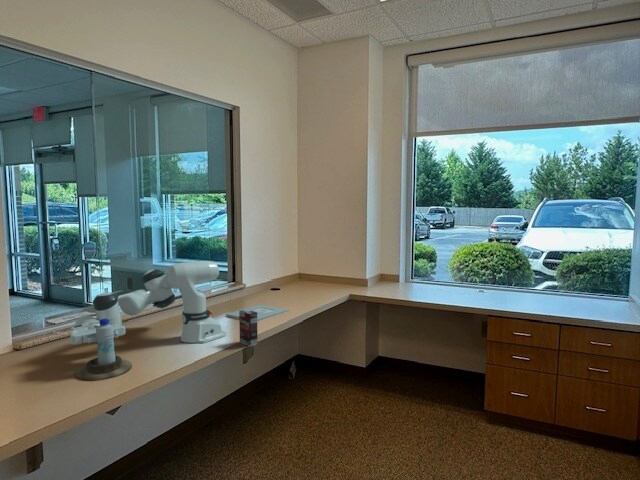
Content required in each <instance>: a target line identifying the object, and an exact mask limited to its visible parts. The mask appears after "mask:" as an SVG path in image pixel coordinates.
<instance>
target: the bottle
mask: <svg viewBox="0 0 640 480" xmlns="http://www.w3.org/2000/svg"><path fill="white" fill-rule="evenodd" d="M114 339H115V338H114V330H113V326H112V325H109V320H108V319H101V320H100V326H98V327H97V328H96V340H97V357H98V365H105V364H109V363H112V362H115V361H116V359H115V356H116V354H115V341H114Z"/></svg>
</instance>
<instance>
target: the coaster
mask: <svg viewBox="0 0 640 480" xmlns="http://www.w3.org/2000/svg"><path fill="white" fill-rule="evenodd" d="M115 359H116V361H115V362H112V363H109V364H105V365H98V356H97V357H94V358H92V359H89V360H88V361H87V363H86V365H85V364H84V365H83V366H81V367H79V368H78V369H77V370H76V372H75V377H76V379H79V380H81V381H89V382H91V381H92V382H93V381H104V380H107V379H109V380H110V379H113V378H116V377H120V376H122V375H124V374H126V373H128V372H129V371H130V370H131V369H132V367H133V363H132V362H131V361H130V360H127V359H123V358H122V357H121V356H119V355H115Z"/></svg>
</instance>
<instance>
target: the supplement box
mask: <svg viewBox="0 0 640 480" xmlns="http://www.w3.org/2000/svg"><path fill="white" fill-rule="evenodd" d="M245 309H246V308H245ZM241 310H242V311H239V310H238V311H239V319H238V320H239V322H238V323H239V343H240V344H243V345H246V346H248V347H253V346H256V345H258V322H257V312H254V311H250V310H247V309H246V310H243V309H241Z"/></svg>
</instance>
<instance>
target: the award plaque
mask: <svg viewBox="0 0 640 480" xmlns="http://www.w3.org/2000/svg"><path fill="white" fill-rule="evenodd" d="M246 309H247V310H250V311H254V312H257V321H260V320H263V319H266V318H269V317H272V316H275V315H278V314H281V313H284V312H287V311H289V312H290V310H289V309H286V308H280V307H275V306H269V305H263V304H257V305H254V306H251V307H246V308H242V309H239V310H236V311H231V312H228V313H225V317H226V316H228V317H227V318H230V317H232V318H231V319H234V318H238V319H237V320H239V311H242V310H246Z"/></svg>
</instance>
